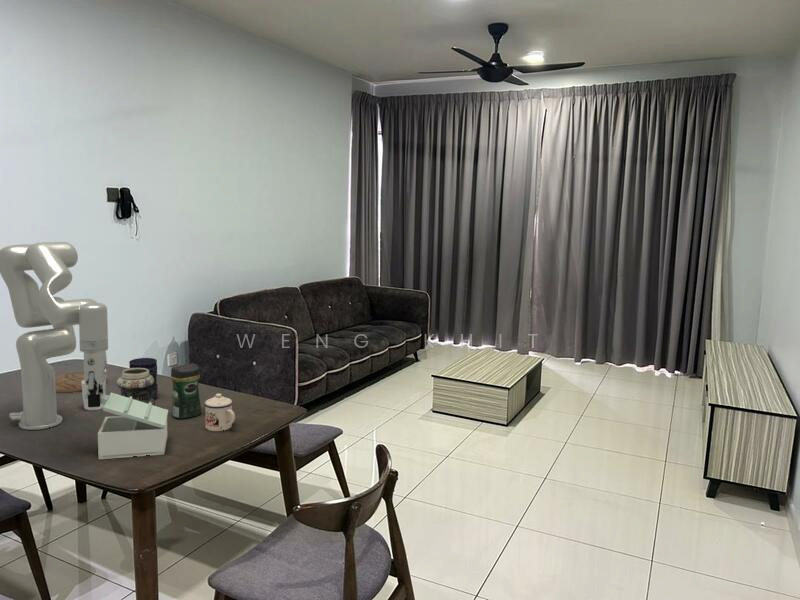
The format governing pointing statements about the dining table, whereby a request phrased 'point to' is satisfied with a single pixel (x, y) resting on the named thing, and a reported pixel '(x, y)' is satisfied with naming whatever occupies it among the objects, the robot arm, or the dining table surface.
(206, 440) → the dining table surface
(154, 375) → the storage jar
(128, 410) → the lid
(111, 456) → the tub
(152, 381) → the apothecary jar
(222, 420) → the teacup with lid
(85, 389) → the white cup
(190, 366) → the coffee jar
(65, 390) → the trivet
